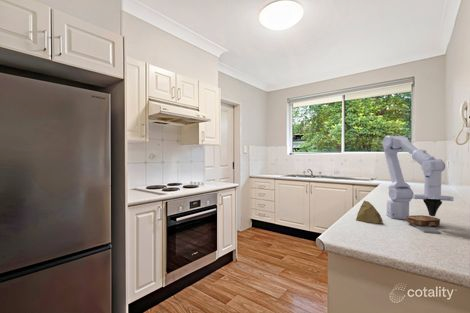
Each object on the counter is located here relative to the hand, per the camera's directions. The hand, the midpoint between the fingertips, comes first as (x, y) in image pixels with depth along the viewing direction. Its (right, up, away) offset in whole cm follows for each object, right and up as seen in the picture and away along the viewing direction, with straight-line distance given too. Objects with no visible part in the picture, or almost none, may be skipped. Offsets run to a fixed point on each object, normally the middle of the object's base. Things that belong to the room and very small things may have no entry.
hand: (432, 215), depth 103 cm
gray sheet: (-4, -6, +1) cm, 7 cm away
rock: (-23, -6, +9) cm, 25 cm away
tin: (+1, -4, 0) cm, 4 cm away
